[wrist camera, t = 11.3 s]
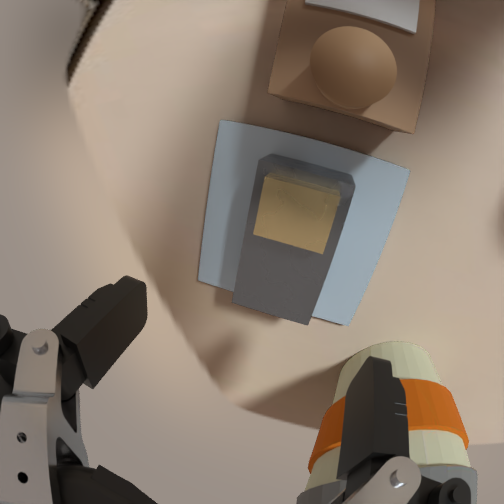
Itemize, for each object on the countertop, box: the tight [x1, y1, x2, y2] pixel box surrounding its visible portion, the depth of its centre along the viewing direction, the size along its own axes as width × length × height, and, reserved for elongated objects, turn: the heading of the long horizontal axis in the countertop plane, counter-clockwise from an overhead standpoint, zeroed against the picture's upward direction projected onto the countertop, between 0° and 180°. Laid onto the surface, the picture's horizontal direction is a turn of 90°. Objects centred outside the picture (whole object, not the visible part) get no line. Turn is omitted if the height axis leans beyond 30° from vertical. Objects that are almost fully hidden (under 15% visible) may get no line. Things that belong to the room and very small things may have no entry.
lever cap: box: [232, 153, 356, 325], centre depth 17 cm, size 9×5×4 cm, turn 169°
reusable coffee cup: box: [297, 342, 477, 504], centre depth 16 cm, size 13×13×15 cm
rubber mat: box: [198, 120, 410, 326], centre depth 19 cm, size 12×12×1 cm
